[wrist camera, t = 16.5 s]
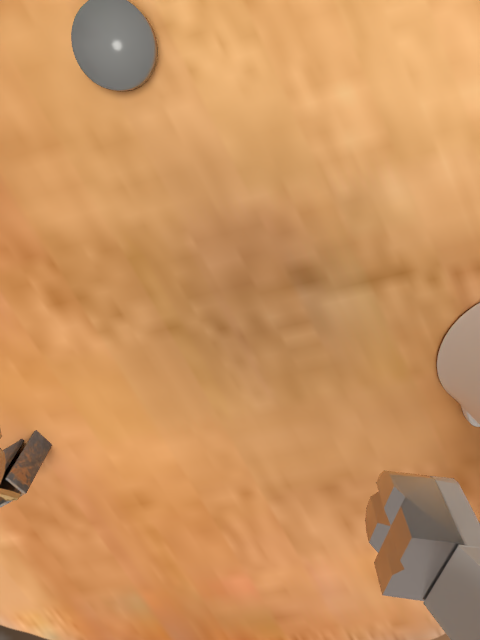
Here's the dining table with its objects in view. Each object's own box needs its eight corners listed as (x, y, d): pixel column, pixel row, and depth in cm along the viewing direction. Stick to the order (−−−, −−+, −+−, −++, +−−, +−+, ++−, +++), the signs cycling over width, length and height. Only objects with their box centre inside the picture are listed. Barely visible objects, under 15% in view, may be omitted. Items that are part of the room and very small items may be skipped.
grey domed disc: (159, 8, 33) (154, 1, 31) (156, 95, 36) (152, 95, 34) (79, -4, 33) (69, -12, 31) (82, 86, 36) (73, 84, 33)
